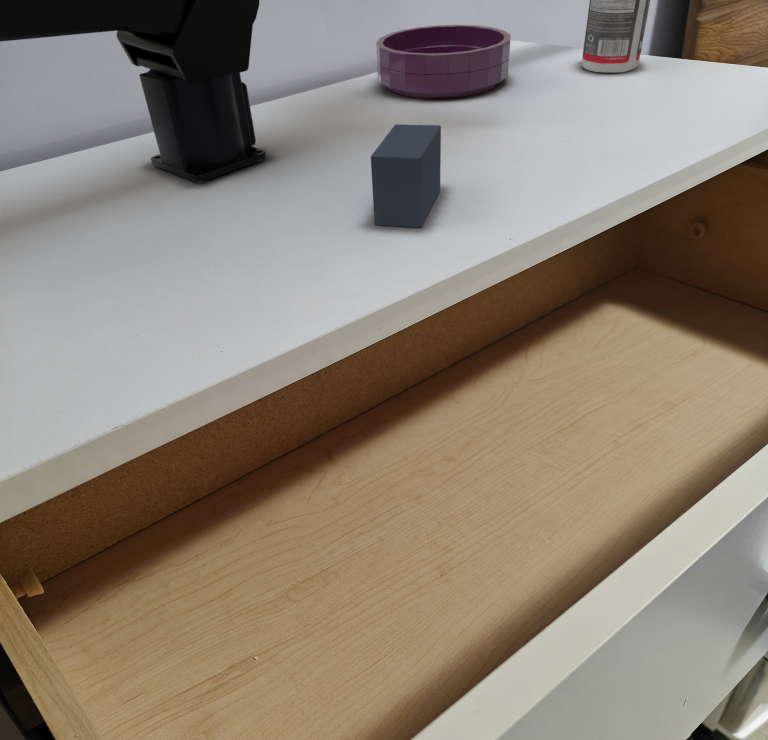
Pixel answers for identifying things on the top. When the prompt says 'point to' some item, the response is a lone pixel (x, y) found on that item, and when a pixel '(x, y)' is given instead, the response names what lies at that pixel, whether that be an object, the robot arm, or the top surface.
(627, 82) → the top surface
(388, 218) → the eraser
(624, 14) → the pill bottle
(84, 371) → the top surface
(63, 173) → the top surface
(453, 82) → the bowl
